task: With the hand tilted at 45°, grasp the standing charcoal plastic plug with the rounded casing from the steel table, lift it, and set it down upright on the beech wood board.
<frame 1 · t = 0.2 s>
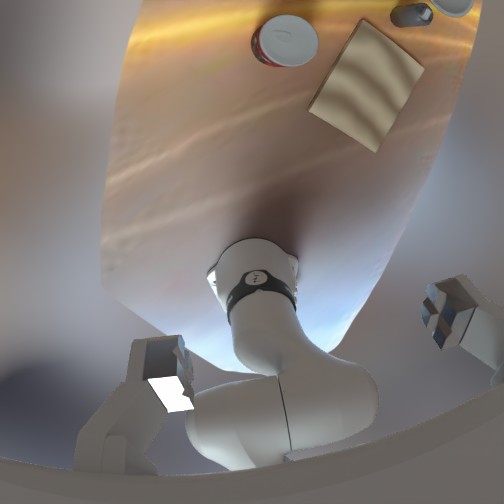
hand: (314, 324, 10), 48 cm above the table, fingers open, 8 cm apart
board: (367, 86, 49), on the table
canned food: (274, 45, 45), on the table
plug: (399, 17, 42), on the table
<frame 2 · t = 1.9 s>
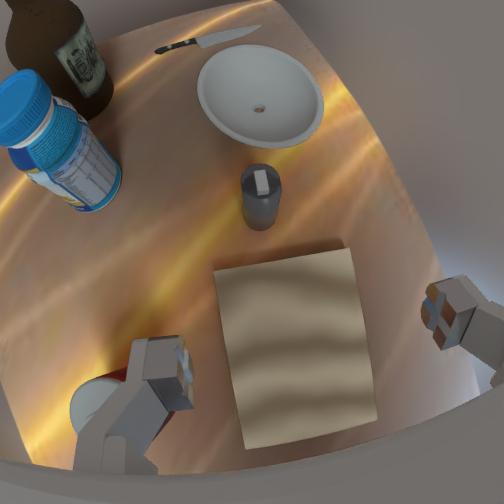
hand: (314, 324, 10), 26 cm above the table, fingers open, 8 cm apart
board: (298, 350, 34), on the table
olive oil: (87, 100, 41), on the table
chef's knife: (214, 42, 44), on the table
canned food: (146, 394, 33), on the table
beverage bottle: (95, 184, 38), on the table
plug: (259, 212, 37), on the table
dish: (258, 112, 40), on the table
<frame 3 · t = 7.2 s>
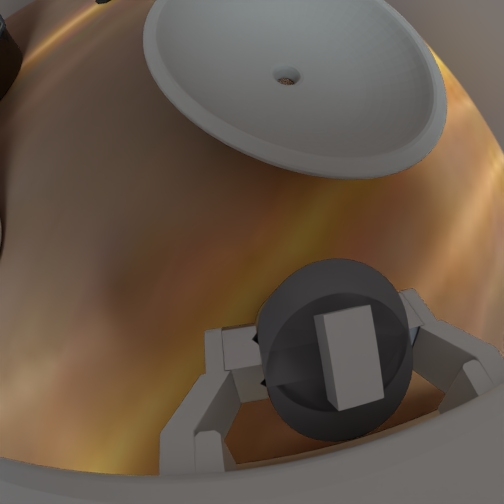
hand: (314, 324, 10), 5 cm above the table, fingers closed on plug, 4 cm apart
plug: (294, 335, 15), on the table, touching gripper
dish: (285, 87, 18), on the table
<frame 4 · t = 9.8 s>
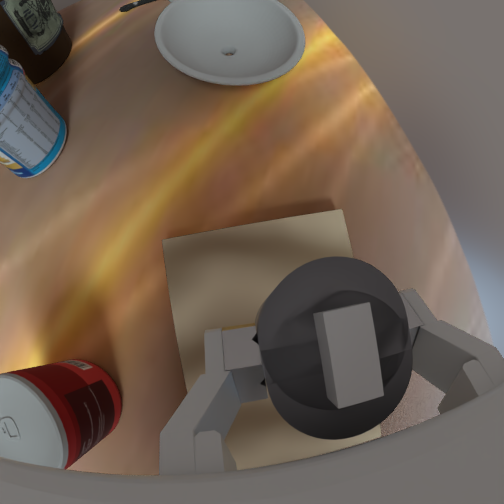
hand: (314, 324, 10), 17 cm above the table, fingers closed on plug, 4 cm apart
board: (275, 346, 26), on the table
olive oil: (44, 61, 32), on the table
canned food: (87, 397, 25), on the table
beverage bottle: (40, 147, 29), on the table
plug: (294, 334, 15), point 11 cm above the table, touching gripper
dish: (229, 58, 31), on the table
when the fingers open (8 cm above the table, at t = 12.5 s): plug drops 1 cm, resting on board.
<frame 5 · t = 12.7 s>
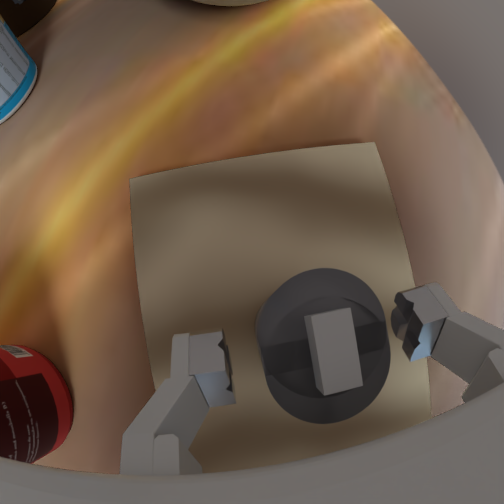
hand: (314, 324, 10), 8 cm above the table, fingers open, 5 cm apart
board: (287, 331, 18), on the table
olive oil: (26, 18, 24), on the table
canned food: (32, 397, 17), on the table
beverage bottle: (8, 96, 22), on the table
plug: (291, 333, 16), point 1 cm above the table, touching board
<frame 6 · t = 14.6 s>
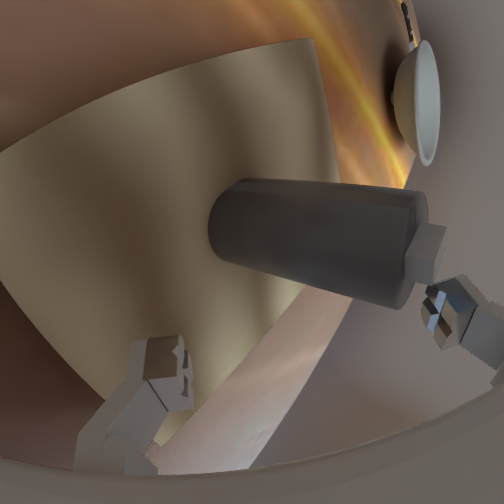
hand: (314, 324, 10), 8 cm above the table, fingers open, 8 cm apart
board: (220, 214, 16), on the table
chef's knife: (409, 57, 40), on the table
plug: (243, 219, 15), point 2 cm above the table, touching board, gripper
dish: (390, 98, 33), on the table
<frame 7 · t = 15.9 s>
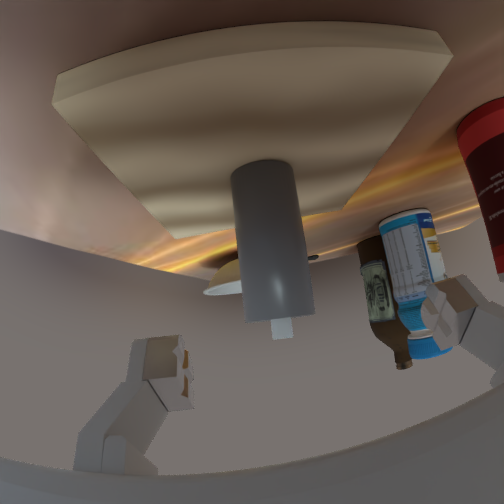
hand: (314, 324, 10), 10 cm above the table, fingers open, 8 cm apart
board: (257, 153, 19), on the table
olive oil: (379, 237, 58), on the table
chef's knife: (269, 261, 64), on the table
canned food: (495, 117, 17), on the table
beverage bottle: (403, 215, 43), on the table
plug: (262, 178, 19), point 2 cm above the table, touching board
dish: (248, 251, 48), on the table
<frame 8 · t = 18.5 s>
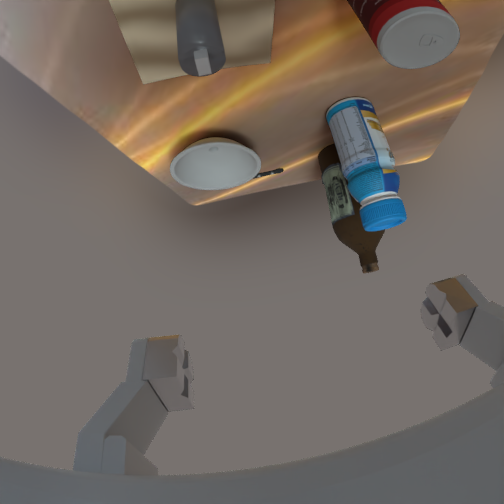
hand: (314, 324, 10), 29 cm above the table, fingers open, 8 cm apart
olive oil: (339, 151, 63), on the table
chef's knife: (238, 175, 68), on the table
beverage bottle: (348, 108, 48), on the table
plug: (195, 6, 23), point 1 cm above the table, touching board
dish: (212, 143, 53), on the table
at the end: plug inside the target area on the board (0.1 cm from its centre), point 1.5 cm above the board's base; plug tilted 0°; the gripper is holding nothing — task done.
